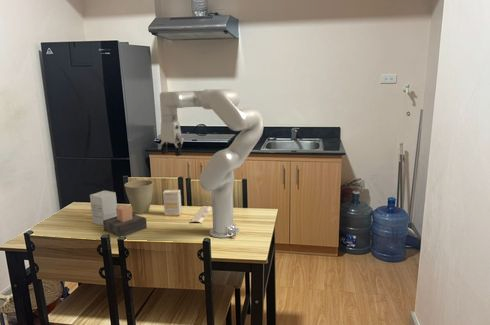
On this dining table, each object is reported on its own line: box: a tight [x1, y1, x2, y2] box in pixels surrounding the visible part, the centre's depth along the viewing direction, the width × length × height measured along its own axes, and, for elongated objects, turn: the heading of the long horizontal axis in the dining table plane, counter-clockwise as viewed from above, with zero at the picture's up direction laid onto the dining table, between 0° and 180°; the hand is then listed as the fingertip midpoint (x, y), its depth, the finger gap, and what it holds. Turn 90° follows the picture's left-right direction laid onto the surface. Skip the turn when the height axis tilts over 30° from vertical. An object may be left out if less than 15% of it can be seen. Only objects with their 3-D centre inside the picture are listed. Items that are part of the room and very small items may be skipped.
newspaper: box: [189, 205, 212, 224], centre depth 195 cm, size 24×7×2 cm, turn 172°
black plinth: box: [103, 213, 147, 237], centre depth 177 cm, size 14×14×5 cm
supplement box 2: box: [162, 189, 183, 217], centre depth 195 cm, size 8×5×13 cm, turn 84°
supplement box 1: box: [89, 190, 118, 227], centre depth 187 cm, size 9×9×15 cm
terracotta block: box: [116, 204, 133, 222], centre depth 176 cm, size 5×5×6 cm
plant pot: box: [124, 179, 154, 215], centre depth 200 cm, size 15×15×16 cm
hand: (171, 154), depth 178 cm, fingers open, 9 cm apart
